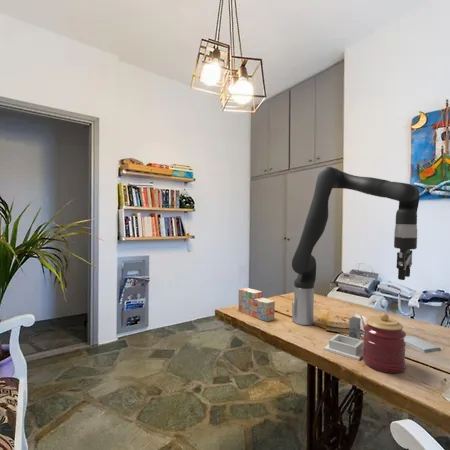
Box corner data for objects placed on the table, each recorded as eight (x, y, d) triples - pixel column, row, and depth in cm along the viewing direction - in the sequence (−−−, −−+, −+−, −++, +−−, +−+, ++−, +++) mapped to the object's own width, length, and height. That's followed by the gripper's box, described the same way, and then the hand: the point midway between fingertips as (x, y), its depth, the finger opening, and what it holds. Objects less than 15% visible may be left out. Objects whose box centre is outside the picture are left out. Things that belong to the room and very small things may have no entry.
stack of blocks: (274, 319, 148) (275, 295, 148) (265, 322, 145) (266, 296, 145) (246, 309, 166) (247, 287, 165) (238, 311, 162) (238, 288, 162)
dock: (323, 349, 114) (323, 339, 114) (335, 341, 122) (335, 332, 122) (359, 360, 105) (359, 350, 105) (368, 350, 113) (369, 340, 113)
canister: (378, 353, 111) (378, 306, 111) (413, 368, 100) (414, 316, 100) (354, 360, 105) (355, 310, 105) (389, 377, 94) (390, 322, 94)
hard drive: (440, 347, 115) (412, 335, 127) (424, 349, 112) (397, 336, 124) (440, 351, 115) (412, 339, 127) (424, 353, 112) (397, 340, 124)
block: (349, 343, 120) (349, 319, 120) (352, 340, 123) (352, 316, 123) (364, 348, 116) (365, 322, 116) (368, 345, 119) (368, 320, 118)
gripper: (398, 235, 122) (397, 274, 123) (389, 236, 112) (388, 279, 112) (420, 236, 117) (418, 277, 118) (413, 237, 107) (411, 282, 107)
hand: (404, 278), depth 115 cm, fingers open, 8 cm apart
